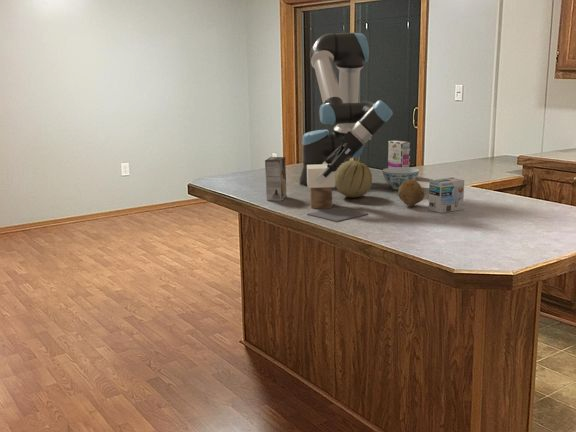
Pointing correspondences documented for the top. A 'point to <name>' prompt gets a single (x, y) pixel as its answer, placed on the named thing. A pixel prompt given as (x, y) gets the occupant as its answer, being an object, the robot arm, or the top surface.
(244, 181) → the top surface
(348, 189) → the cantaloupe
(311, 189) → the tin
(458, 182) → the light bulb box
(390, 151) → the candy bar box
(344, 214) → the mat
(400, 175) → the chinaware
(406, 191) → the coconut
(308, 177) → the cream cube
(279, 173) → the coffee box
